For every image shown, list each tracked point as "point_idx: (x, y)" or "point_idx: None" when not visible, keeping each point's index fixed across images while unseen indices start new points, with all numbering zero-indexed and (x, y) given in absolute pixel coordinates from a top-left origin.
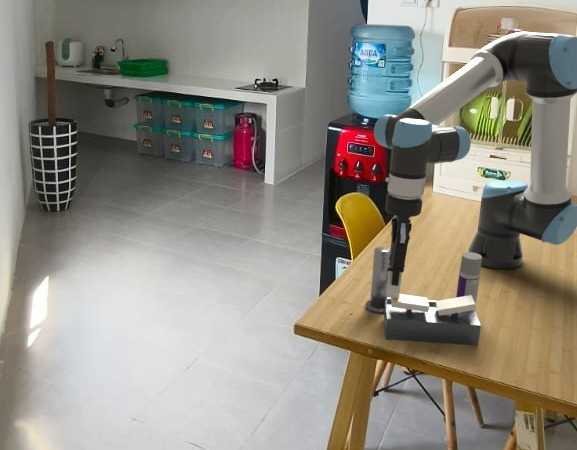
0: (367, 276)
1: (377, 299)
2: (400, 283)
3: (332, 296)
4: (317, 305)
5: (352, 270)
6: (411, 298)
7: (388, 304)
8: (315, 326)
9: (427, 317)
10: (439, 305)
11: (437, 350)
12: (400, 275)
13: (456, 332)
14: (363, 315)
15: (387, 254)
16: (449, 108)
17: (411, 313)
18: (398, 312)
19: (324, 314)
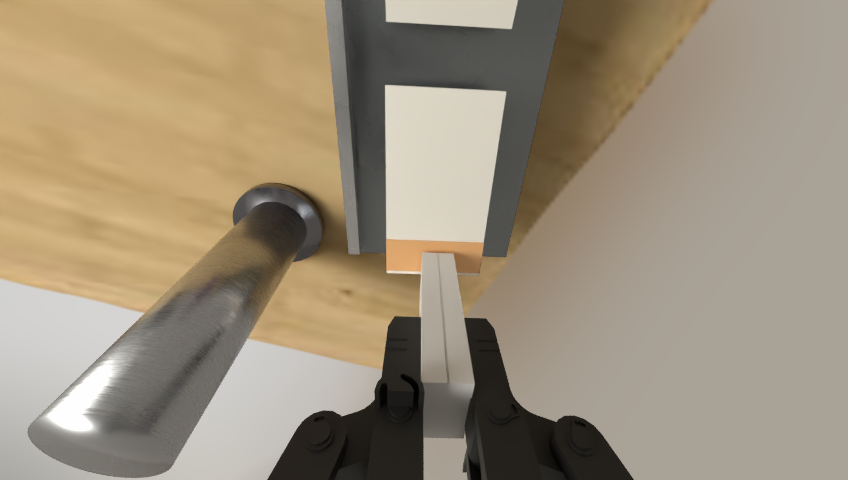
0: (39, 238)
1: (295, 252)
2: (462, 309)
3: (254, 328)
4: (319, 354)
5: (25, 279)
6: (424, 185)
7: (383, 243)
8: None
9: (496, 89)
10: (456, 4)
11: (576, 41)
12: (468, 357)
13: None
14: (347, 263)
15: (155, 425)
16: None
17: None
18: None
19: (364, 342)
